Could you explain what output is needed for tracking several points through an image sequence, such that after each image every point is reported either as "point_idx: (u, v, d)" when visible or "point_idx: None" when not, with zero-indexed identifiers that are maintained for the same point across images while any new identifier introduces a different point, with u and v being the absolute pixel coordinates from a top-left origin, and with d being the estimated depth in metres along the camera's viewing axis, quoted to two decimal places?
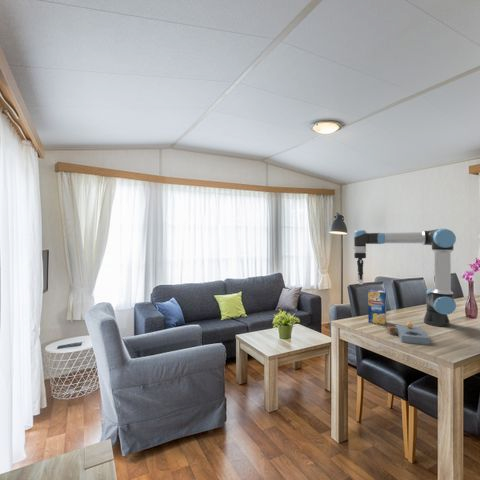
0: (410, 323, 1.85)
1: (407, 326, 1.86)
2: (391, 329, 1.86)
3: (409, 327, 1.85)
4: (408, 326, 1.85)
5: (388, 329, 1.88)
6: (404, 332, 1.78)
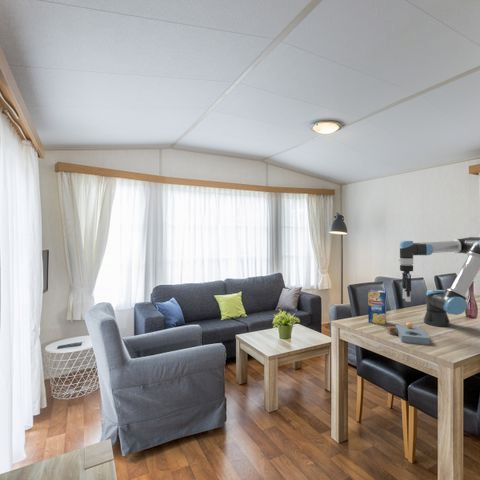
0: (410, 323, 1.85)
1: (407, 326, 1.86)
2: (391, 329, 1.86)
3: (409, 327, 1.85)
4: (408, 326, 1.85)
5: (388, 329, 1.88)
6: (404, 332, 1.78)
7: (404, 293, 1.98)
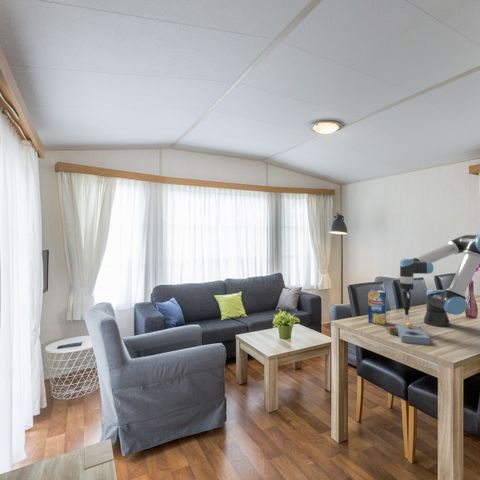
0: (410, 323, 1.85)
1: (407, 326, 1.86)
2: (391, 329, 1.86)
3: (409, 327, 1.85)
4: (408, 326, 1.85)
5: (388, 329, 1.88)
6: (404, 332, 1.78)
7: None
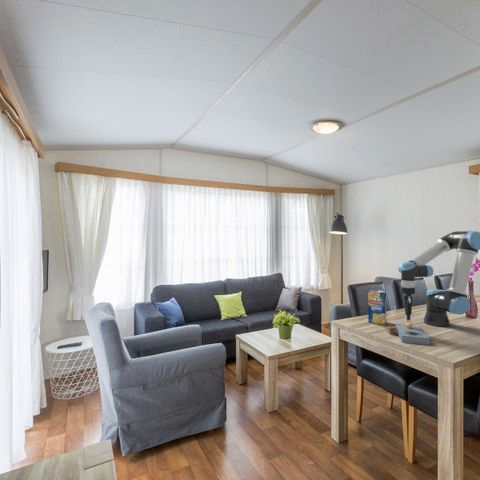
0: (410, 323, 1.85)
1: (407, 326, 1.86)
2: (391, 329, 1.86)
3: (409, 327, 1.85)
4: (408, 326, 1.85)
5: (388, 329, 1.88)
6: (404, 332, 1.78)
7: None
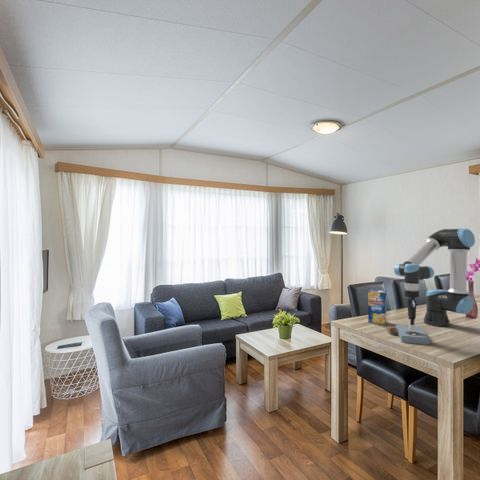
0: None
1: None
2: (391, 329, 1.86)
3: None
4: None
5: (388, 329, 1.88)
6: (404, 332, 1.78)
7: None
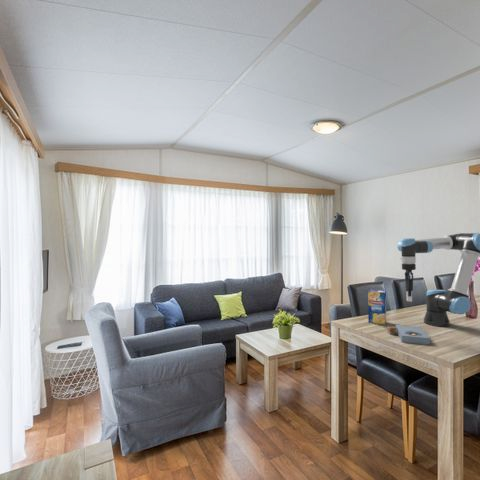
0: None
1: None
2: (391, 329, 1.86)
3: None
4: None
5: (388, 329, 1.88)
6: (404, 332, 1.78)
7: None
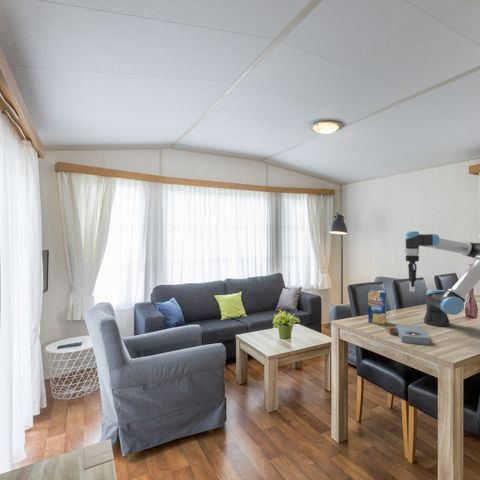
0: None
1: None
2: (391, 329, 1.86)
3: None
4: None
5: (388, 329, 1.88)
6: (404, 332, 1.78)
7: None
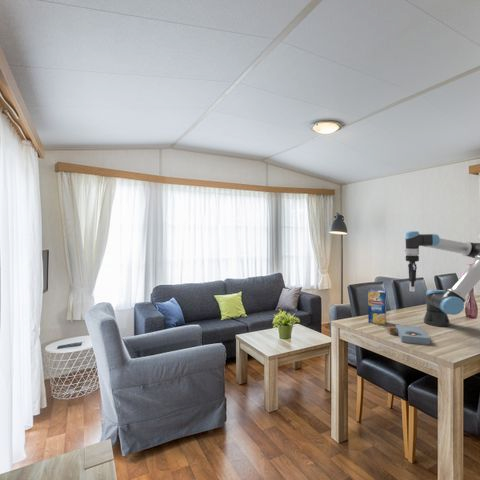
0: None
1: None
2: (391, 329, 1.86)
3: None
4: None
5: (388, 329, 1.88)
6: (404, 332, 1.78)
7: None
